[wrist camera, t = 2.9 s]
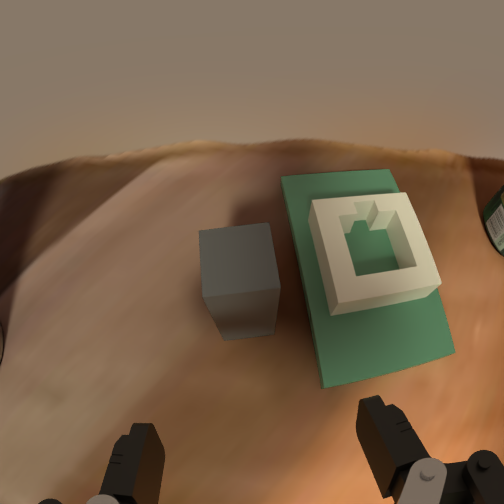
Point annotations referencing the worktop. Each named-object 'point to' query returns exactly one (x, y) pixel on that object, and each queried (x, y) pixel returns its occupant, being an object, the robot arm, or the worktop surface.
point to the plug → (240, 279)
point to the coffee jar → (495, 220)
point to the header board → (368, 257)
